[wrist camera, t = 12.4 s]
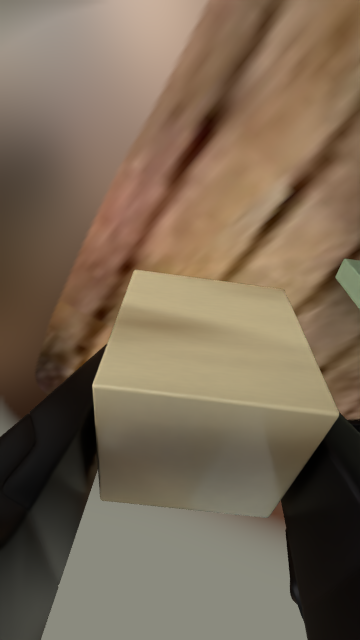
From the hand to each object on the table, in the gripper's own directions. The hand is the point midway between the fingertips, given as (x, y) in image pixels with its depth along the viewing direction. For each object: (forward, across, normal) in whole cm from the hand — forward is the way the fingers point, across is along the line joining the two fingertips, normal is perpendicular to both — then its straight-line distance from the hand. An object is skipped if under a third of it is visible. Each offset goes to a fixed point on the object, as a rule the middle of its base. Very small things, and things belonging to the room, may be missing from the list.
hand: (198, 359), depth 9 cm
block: (+1, 0, 0) cm, 1 cm away
